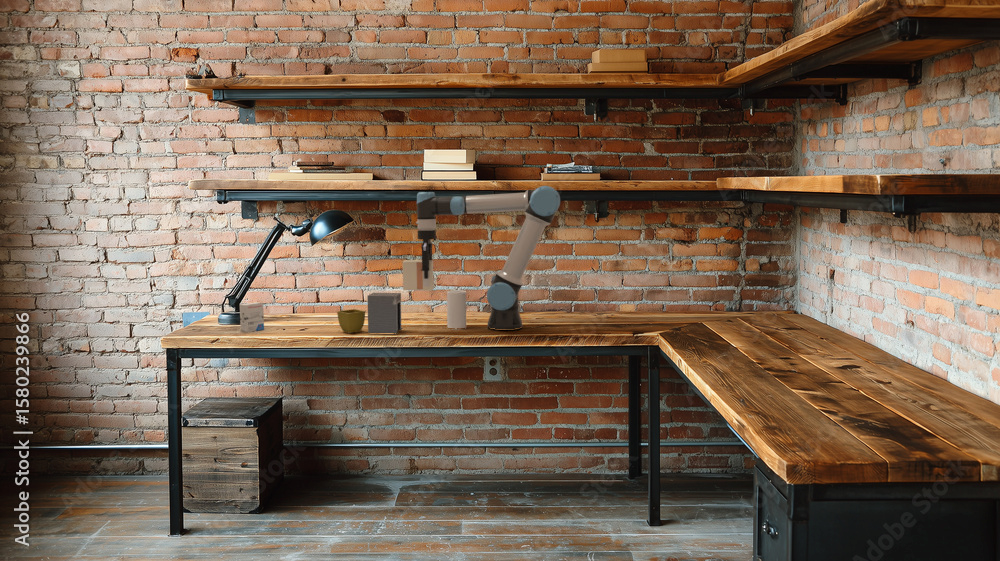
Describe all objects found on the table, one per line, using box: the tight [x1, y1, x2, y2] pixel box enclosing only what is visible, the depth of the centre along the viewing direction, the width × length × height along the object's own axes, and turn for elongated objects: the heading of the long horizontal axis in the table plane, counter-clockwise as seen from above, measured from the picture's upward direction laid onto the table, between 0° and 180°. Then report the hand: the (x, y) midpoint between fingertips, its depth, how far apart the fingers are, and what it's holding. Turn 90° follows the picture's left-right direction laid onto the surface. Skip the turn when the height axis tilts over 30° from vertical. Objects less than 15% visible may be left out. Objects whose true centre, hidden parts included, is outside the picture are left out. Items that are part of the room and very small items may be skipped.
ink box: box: [239, 301, 265, 333], centre depth 312 cm, size 9×5×12 cm, turn 141°
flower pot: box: [336, 308, 366, 334], centre depth 309 cm, size 9×9×9 cm
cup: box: [446, 289, 467, 330], centre depth 319 cm, size 8×8×16 cm
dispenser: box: [367, 292, 402, 335], centre depth 309 cm, size 12×10×16 cm
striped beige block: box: [402, 259, 435, 291], centre depth 306 cm, size 12×5×12 cm, turn 87°
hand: (427, 285), depth 306 cm, fingers closed on striped beige block, 5 cm apart
